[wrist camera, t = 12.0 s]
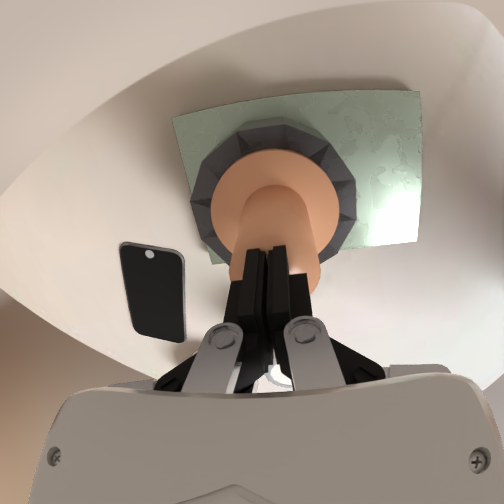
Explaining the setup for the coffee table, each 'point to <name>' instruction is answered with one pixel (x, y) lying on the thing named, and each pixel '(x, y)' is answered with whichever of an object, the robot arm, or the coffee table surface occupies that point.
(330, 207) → the cap
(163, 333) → the smartphone
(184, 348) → the coffee table surface
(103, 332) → the coffee table surface
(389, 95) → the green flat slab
